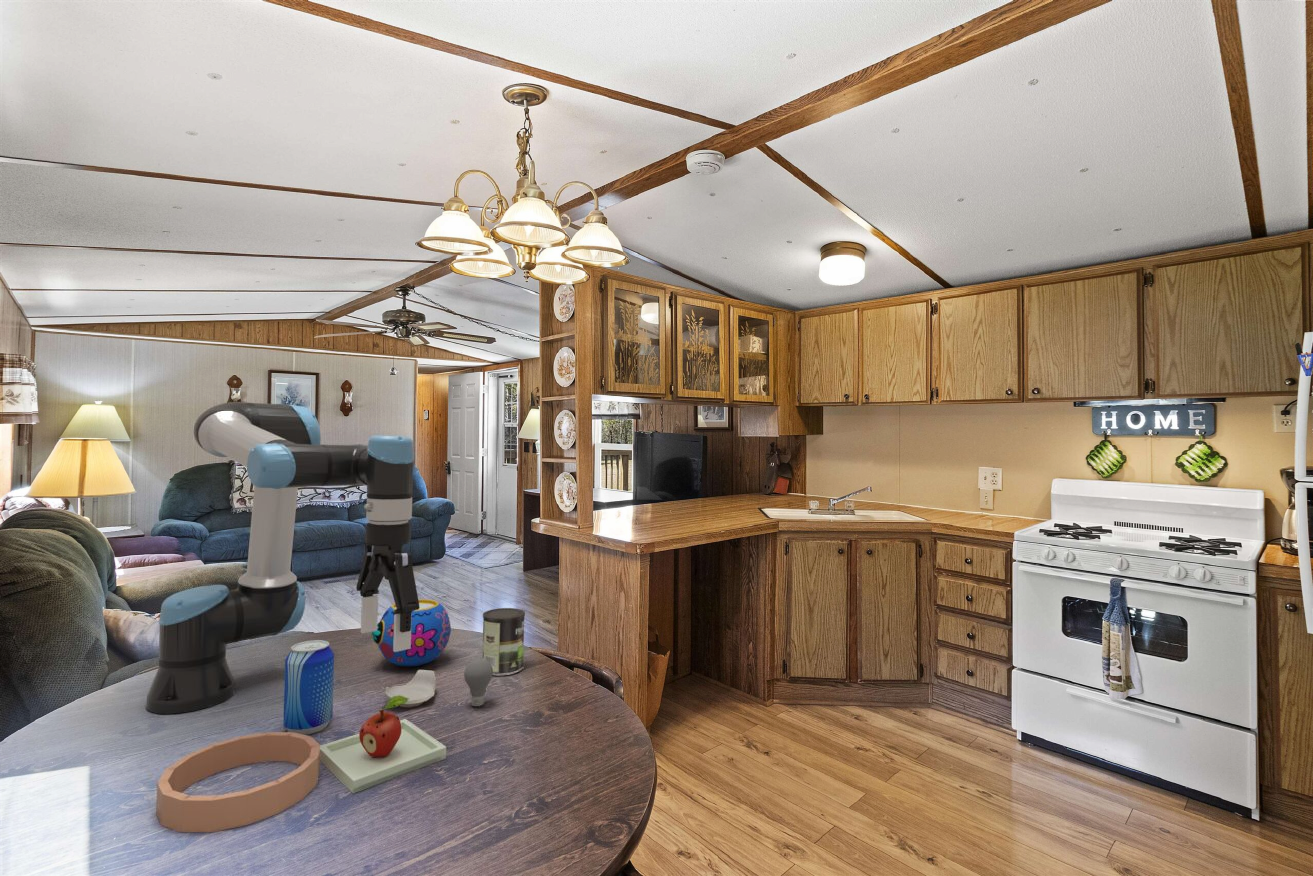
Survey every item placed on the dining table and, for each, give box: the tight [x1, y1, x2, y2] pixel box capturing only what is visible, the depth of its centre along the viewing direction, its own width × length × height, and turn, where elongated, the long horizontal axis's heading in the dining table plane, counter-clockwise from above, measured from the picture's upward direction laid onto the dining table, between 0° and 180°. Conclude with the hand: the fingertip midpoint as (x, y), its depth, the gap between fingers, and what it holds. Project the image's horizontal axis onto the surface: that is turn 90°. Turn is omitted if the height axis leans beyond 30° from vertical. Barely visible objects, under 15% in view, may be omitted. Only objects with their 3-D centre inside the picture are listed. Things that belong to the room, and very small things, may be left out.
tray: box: [320, 718, 447, 794], centre depth 110 cm, size 16×16×2 cm
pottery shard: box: [381, 669, 437, 708], centre depth 135 cm, size 10×11×5 cm
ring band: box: [155, 731, 321, 833], centre depth 99 cm, size 21×21×4 cm
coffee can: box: [481, 607, 526, 674], centre depth 155 cm, size 10×10×14 cm
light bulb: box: [463, 657, 493, 707], centre depth 133 cm, size 6×6×10 cm
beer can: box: [283, 639, 335, 735], centre depth 122 cm, size 8×8×16 cm
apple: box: [358, 695, 409, 757], centre depth 110 cm, size 8×7×10 cm
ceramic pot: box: [371, 598, 452, 668], centre depth 158 cm, size 18×18×15 cm
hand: (384, 640), depth 111 cm, fingers open, 13 cm apart
